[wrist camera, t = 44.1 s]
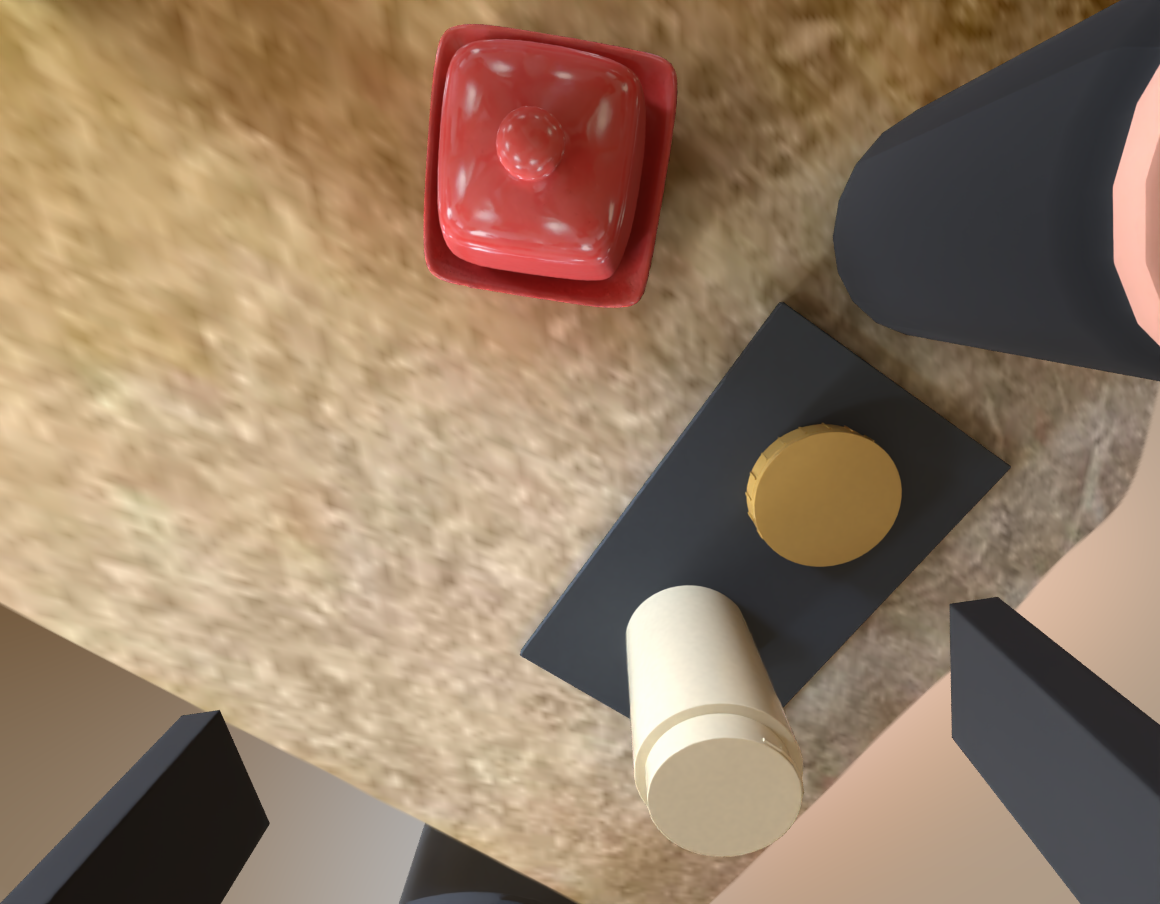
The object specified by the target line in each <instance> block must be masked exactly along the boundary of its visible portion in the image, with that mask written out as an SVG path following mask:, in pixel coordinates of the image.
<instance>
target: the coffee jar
mask: <svg viewBox="0 0 1160 904" xmlns="http://www.w3.org/2000/svg"><path fill="white" fill-rule="evenodd" d="M833 242H834V249H835V256H836V263H837V270H838V274H839V276H840V277H841V279H842V281H843V283H844V285H845V287H846V289H847V291H848V293H849V295H850V297H851V299H852V301H853V302H854V303H855V304H856V305H857V306H858V307H860V308H861V309H862V310H863V311H864V312H865V313H866V314H867V315H868V316H869V317H871V318H872V319H873V320H874V321H875V322H876V323H878V324H881V325H883V326H886V327H888V328H891V329H893V330H896V331H898V332H901V333H903V334H906V335H910V336H916V337H921V338H927V339H932V340H938V341H943V342H949V343H954V344H960V345H965V346H970V347H976V348H981V349H987V350H992V351H998V352H1003V353H1009V354H1014V355H1020V356H1025V357H1030V358H1036V359H1041V360H1047V361H1052V362H1058V363H1063V364H1069V365H1074V366H1079V367H1085V368H1090V369H1096V370H1101V371H1107V372H1112V373H1118V374H1123V375H1129V376H1134V377H1139V378H1145V379H1150V380H1156V381H1160V0H1121V1H1119V2H1117V3H1115V4H1113V5H1111V6H1109V7H1108V8H1106V9H1104V10H1102V11H1100V12H1098V13H1096V14H1095V15H1093V16H1091V17H1089V18H1087V19H1085V20H1083V21H1082V22H1080V23H1078V24H1076V25H1074V26H1072V27H1070V28H1069V29H1067V30H1065V31H1063V32H1061V33H1059V34H1057V35H1056V36H1054V37H1052V38H1050V39H1048V40H1046V41H1044V42H1043V43H1041V44H1039V45H1037V46H1035V47H1033V48H1031V49H1030V50H1028V51H1026V52H1024V53H1022V54H1020V55H1018V56H1017V57H1015V58H1013V59H1011V60H1009V61H1007V62H1005V63H1004V64H1002V65H1000V66H998V67H996V68H994V69H992V70H991V71H989V72H987V73H985V74H983V75H981V76H979V77H978V78H976V79H974V80H972V81H970V82H968V83H966V84H965V85H963V86H961V87H959V88H957V89H955V90H953V91H952V92H950V93H948V94H946V95H944V96H942V97H940V98H939V99H937V100H935V101H933V102H931V103H929V104H927V105H926V106H924V107H922V108H920V109H918V110H916V111H915V112H913V113H912V114H910V115H909V116H907V117H906V118H904V119H903V120H901V121H900V122H898V123H897V124H895V125H894V126H892V127H891V128H889V129H888V130H886V131H885V132H883V133H882V134H881V136H880V137H879V138H878V139H877V140H876V141H875V143H874V144H873V145H872V146H871V147H870V148H869V150H868V151H867V152H866V153H865V154H864V155H863V157H862V158H861V159H860V160H859V161H858V162H857V164H856V165H855V167H854V170H853V172H852V174H851V176H850V178H849V180H848V182H847V184H846V186H845V189H844V191H843V193H842V195H841V197H840V199H839V203H838V209H837V215H836V221H835V228H834V234H833Z"/></svg>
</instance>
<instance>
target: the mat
mask: <svg viewBox="0 0 1160 904" xmlns="http://www.w3.org/2000/svg"><path fill="white" fill-rule="evenodd" d="M821 423H824V424H832V425H839V426H843V427H844V425H845V426H847V427H849V428H850V429H852V430H854V431H856V432H858V433H859V434H861V435H866V436H867V437H869V438H871V439H873V440H874V443H876V444H877V445H879V446H880V447H881V448H882V449H884V450H885V452H886V453H887V454H888V455H889V456H890V457H891V459H892V461H893V462H894V464H895V466H896V468H897V470H898V473H899V476H900V480H901V488H902V497H901V504H900V508H899V512H898V515H897V517H896V519H895V521H894V524H893V525H892V527H891V528H890V530H889V532H888V533H887V534H886V535H885V537H884V538H883V539H882V540H881V541H880V542H879V543H878V544H877V545H876V546H875V547H873V548H872V549H871V550H869V551H868V552H867V553H865V554H863V555H862V556H860V557H858V558H856V559H854V560H851V561H849V562H846V563H843V564H838V565H834V566H825V567H815V566H807V565H802V564H798V563H795V562H792V561H790V560H788V559H786V558H784V557H782V556H780V555H779V554H778V553H776V552H775V551H774V550H773V549H772V548H771V547H770V546H769V545H768V544H767V543H766V542H765V540H764V539H762V538H761V537H760V535H759V533H758V532H757V528H756V526H755V524H754V523H753V521H752V519H751V518H750V516H749V514H748V512H749V511H748V506H747V496H746V494H745V492H747V485H748V481H749V477H750V472H752V469H753V467H754V465H755V463H756V462H757V460H758V459H759V457H760V456H761V453H763V452H764V451H765V450H766V449H767V448H768V447H769V446H770V445H771V444H772V443H773V442H775V441H776V440H777V439H778V437H782V436H783V435H785V434H787V433H789V432H791V431H793V430H796V429H799V428H798V427H806V426H810V425H817V424H821ZM1010 468H1011V466H1010V465H1008V464H1007V463H1005V462H1004V461H1003V460H1001V459H1000V458H999V457H997V456H996V455H994V454H993V453H992V452H990V451H989V450H987V449H986V448H985V447H983V446H982V445H980V444H979V443H978V442H976V441H975V440H974V439H972V438H971V437H969V436H968V435H967V434H965V433H964V432H962V431H961V430H960V429H958V428H957V427H956V426H954V425H953V424H951V423H950V422H949V421H947V420H946V419H944V418H943V417H942V416H940V415H939V414H937V413H936V412H935V411H933V410H932V409H931V408H929V407H928V406H926V405H925V404H924V403H922V402H921V401H919V400H918V399H917V398H915V397H914V396H913V395H911V394H910V393H908V392H907V391H906V390H904V389H903V388H901V387H900V386H899V385H897V384H896V383H895V382H893V381H892V380H890V379H889V378H888V377H886V376H885V375H883V374H882V373H881V372H879V371H878V370H876V369H875V368H874V367H872V366H871V365H870V364H868V363H867V362H865V361H864V360H863V359H861V358H860V357H858V356H857V355H856V354H854V353H853V352H852V351H850V350H849V349H847V348H846V347H845V346H843V345H842V344H840V343H839V342H838V341H836V340H835V339H834V338H832V337H831V336H829V335H828V334H827V333H825V332H824V331H822V330H821V329H820V328H818V327H817V326H815V325H814V324H813V323H811V322H810V321H809V320H807V319H806V318H804V317H803V316H802V315H800V314H799V313H797V312H796V311H795V310H793V309H792V308H791V307H789V306H788V305H786V304H785V303H783V302H779V303H778V305H777V306H776V307H775V309H774V310H773V311H772V313H771V314H770V316H769V317H768V318H767V320H766V321H765V322H764V324H763V325H762V326H761V328H760V329H759V330H758V332H757V333H756V334H755V336H754V337H753V338H752V340H751V341H750V342H749V344H748V345H747V347H746V348H745V349H744V351H743V352H742V353H741V355H740V356H739V357H738V359H737V360H736V361H735V363H734V364H733V365H732V367H731V368H730V369H729V371H728V372H727V373H726V375H725V376H724V377H723V379H722V380H721V382H720V383H719V384H718V386H717V387H716V388H715V390H714V391H713V392H712V394H711V395H710V396H709V398H708V399H707V400H706V402H705V403H704V404H703V406H702V407H701V408H700V410H699V411H698V412H697V414H696V415H695V417H694V418H693V419H692V421H691V422H690V423H689V425H688V426H687V427H686V429H685V430H684V431H683V433H682V434H681V435H680V437H679V438H678V439H677V441H676V442H675V443H674V445H673V446H672V447H671V449H670V450H669V452H668V453H667V454H666V456H665V457H664V458H663V460H662V461H661V462H660V464H659V465H658V466H657V468H656V469H655V470H654V472H653V473H652V474H651V476H650V477H649V478H648V480H647V481H646V482H645V484H644V485H643V487H642V488H641V489H640V491H639V492H638V493H637V495H636V496H635V497H634V499H633V500H632V501H631V503H630V504H629V505H628V507H627V508H626V509H625V511H624V512H623V513H622V515H621V516H620V517H619V519H618V520H617V522H616V523H615V524H614V526H613V527H612V528H611V530H610V531H609V532H608V534H607V535H606V536H605V538H604V539H603V540H602V542H601V543H600V544H599V546H598V547H597V548H596V550H595V551H594V552H593V554H592V555H591V557H590V558H589V559H588V561H587V562H586V563H585V565H584V566H583V567H582V569H581V570H580V571H579V573H578V574H577V575H576V577H575V578H574V579H573V581H572V582H571V583H570V585H569V586H568V587H567V589H566V590H565V592H564V593H563V594H562V596H561V597H560V598H559V600H558V601H557V602H556V604H555V605H554V606H553V608H552V609H551V610H550V612H549V613H548V614H547V616H546V617H545V618H544V620H543V621H542V622H541V624H540V625H539V627H538V628H537V629H536V631H535V632H534V633H533V635H532V636H531V637H530V639H529V640H528V641H527V643H526V644H525V645H524V647H523V648H522V649H521V653H520V655H521V656H522V657H524V658H526V659H527V660H529V661H531V662H532V663H534V664H536V665H538V666H539V667H541V668H543V669H545V670H546V671H548V672H550V673H552V674H553V675H555V676H557V677H558V678H560V679H562V680H564V681H565V682H567V683H569V684H571V685H572V686H574V687H576V688H578V689H579V690H581V691H583V692H585V693H586V694H588V695H590V696H591V697H593V698H595V699H597V700H598V701H600V702H602V703H604V704H605V705H607V706H609V707H611V708H612V709H614V710H616V711H617V712H619V713H621V714H623V715H624V716H626V717H628V718H630V706H629V691H628V675H627V659H626V643H625V639H626V630H627V626H628V623H629V621H630V619H631V617H632V615H633V614H634V612H635V611H636V609H637V608H638V607H639V606H640V605H641V604H642V603H643V602H644V601H645V600H647V599H648V598H649V597H651V596H652V595H654V594H656V593H658V592H660V591H662V590H665V589H668V588H672V587H676V586H684V585H694V586H702V587H706V588H710V589H712V590H715V591H718V592H719V593H721V594H723V595H725V596H726V597H728V598H729V599H731V600H732V601H733V602H734V603H735V604H736V605H737V606H738V608H739V609H740V610H741V612H742V613H743V615H744V617H745V619H746V622H747V624H748V626H749V629H750V631H751V633H752V636H753V638H754V641H755V643H756V645H757V648H758V650H759V652H760V655H761V657H762V660H763V662H764V664H765V667H766V669H767V671H768V674H769V676H770V679H771V681H772V683H773V686H774V688H775V690H776V693H777V695H778V698H779V700H780V702H781V705H782V707H784V706H785V705H786V704H787V703H788V702H789V701H790V700H791V699H792V698H793V697H794V695H795V694H796V693H797V692H798V691H799V690H800V689H801V688H802V687H803V686H804V685H805V684H806V683H807V682H808V681H809V680H810V679H811V678H812V677H813V675H814V674H815V673H816V672H817V671H818V670H819V669H820V668H821V667H822V666H823V665H824V664H825V663H826V662H827V661H828V660H829V659H830V658H831V656H832V655H833V654H834V653H835V652H836V651H837V650H838V649H839V648H840V647H841V646H842V645H843V644H844V643H845V642H846V641H847V640H848V639H849V638H850V636H851V635H852V634H853V633H854V632H855V631H856V630H857V629H858V628H859V627H860V626H861V625H862V624H863V623H864V622H865V621H866V620H867V619H868V618H869V616H870V615H871V614H872V613H873V612H874V611H875V610H876V609H877V608H878V607H879V606H880V605H881V604H882V603H883V602H884V601H885V600H886V599H887V597H888V596H889V595H890V594H891V593H892V592H893V591H894V590H895V589H896V588H897V587H898V586H899V585H900V584H901V583H902V582H903V581H904V580H905V579H906V577H907V576H908V575H909V574H910V573H911V572H912V571H913V570H914V569H915V568H916V567H917V566H918V565H919V564H920V563H921V562H922V561H923V560H924V559H925V557H926V556H927V555H928V554H929V553H930V552H931V551H932V550H933V549H934V548H935V547H936V546H937V545H938V544H939V543H940V542H941V541H942V540H943V538H944V537H945V536H946V535H947V534H948V533H949V532H950V531H951V530H952V529H953V528H954V527H955V526H956V525H957V524H958V523H959V522H960V521H961V520H962V518H963V517H964V516H965V515H966V514H967V513H968V512H969V511H970V510H971V509H972V508H973V507H974V506H975V505H976V504H977V503H978V502H979V501H980V500H981V498H982V497H983V496H984V495H985V494H986V493H987V492H988V491H989V490H990V489H991V488H992V487H993V486H994V485H995V484H996V483H997V482H998V481H999V479H1000V478H1001V477H1002V476H1003V475H1004V474H1005V473H1006V472H1007V471H1008V470H1009V469H1010Z"/></svg>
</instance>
